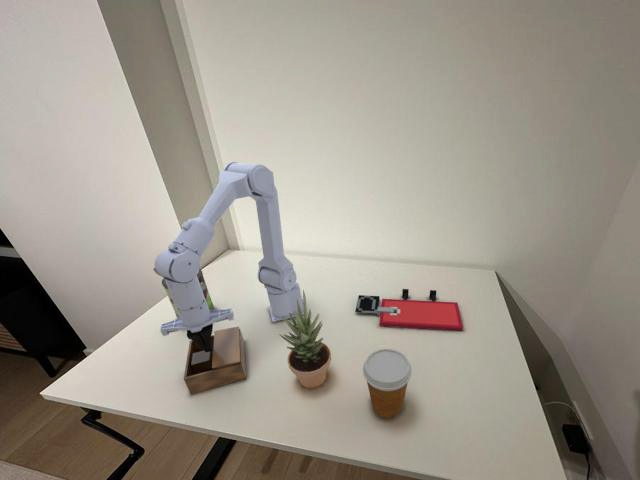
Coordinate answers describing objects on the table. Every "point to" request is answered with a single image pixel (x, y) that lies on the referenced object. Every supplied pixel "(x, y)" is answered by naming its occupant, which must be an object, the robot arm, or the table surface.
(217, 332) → the flap
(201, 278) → the coffee can
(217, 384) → the wooden box
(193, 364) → the block
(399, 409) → the disposable coffee cup
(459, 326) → the red board with handle
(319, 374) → the potted plant
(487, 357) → the table surface
